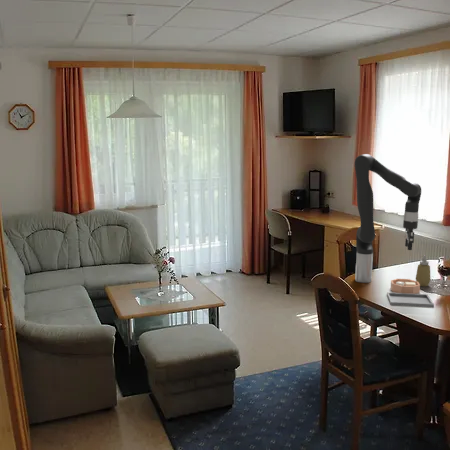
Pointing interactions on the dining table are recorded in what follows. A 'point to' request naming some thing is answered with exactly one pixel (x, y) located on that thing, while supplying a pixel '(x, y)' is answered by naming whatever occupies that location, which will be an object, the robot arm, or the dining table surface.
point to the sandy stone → (410, 284)
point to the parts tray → (410, 299)
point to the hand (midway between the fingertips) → (408, 248)
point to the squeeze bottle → (423, 272)
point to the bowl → (404, 288)
